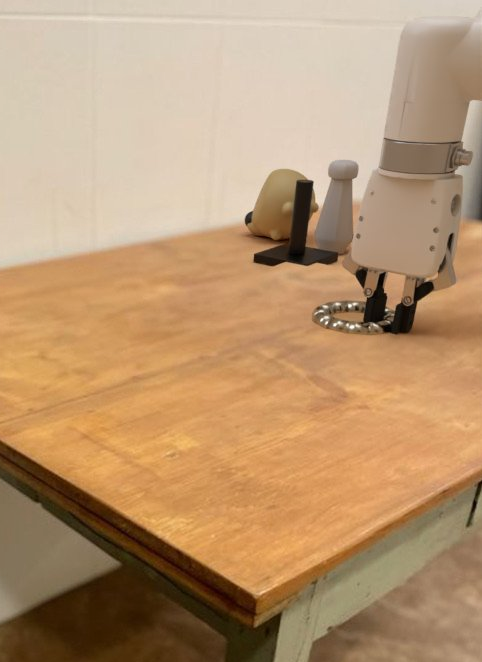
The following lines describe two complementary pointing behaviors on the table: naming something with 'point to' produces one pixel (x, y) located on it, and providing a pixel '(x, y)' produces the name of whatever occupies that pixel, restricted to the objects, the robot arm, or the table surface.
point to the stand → (297, 236)
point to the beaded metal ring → (325, 320)
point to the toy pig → (276, 205)
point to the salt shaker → (337, 208)
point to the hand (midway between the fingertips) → (385, 332)
